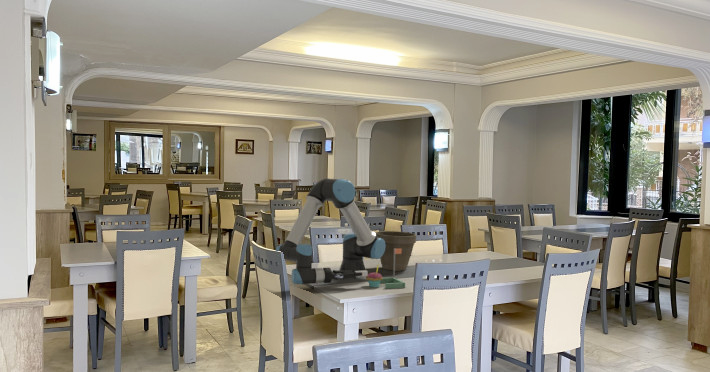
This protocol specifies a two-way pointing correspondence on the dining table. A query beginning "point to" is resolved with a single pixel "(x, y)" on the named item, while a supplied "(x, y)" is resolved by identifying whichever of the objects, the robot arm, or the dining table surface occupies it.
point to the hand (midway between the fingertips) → (367, 273)
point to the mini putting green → (393, 281)
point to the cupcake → (374, 278)
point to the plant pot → (398, 242)
